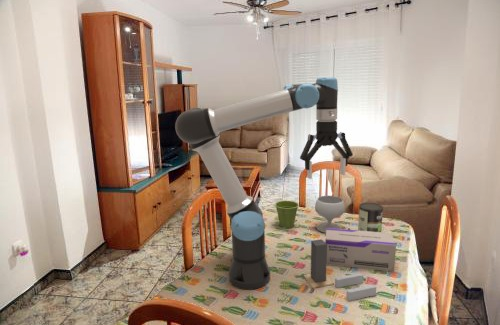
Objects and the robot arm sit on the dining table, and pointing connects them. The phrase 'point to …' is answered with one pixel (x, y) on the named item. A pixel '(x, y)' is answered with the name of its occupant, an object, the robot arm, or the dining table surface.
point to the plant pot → (286, 213)
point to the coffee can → (370, 217)
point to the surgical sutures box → (360, 249)
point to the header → (356, 292)
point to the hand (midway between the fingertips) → (326, 176)
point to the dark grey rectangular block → (318, 260)
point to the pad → (319, 284)
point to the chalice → (329, 211)
